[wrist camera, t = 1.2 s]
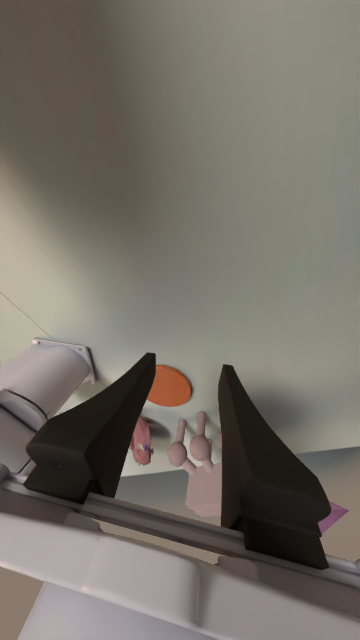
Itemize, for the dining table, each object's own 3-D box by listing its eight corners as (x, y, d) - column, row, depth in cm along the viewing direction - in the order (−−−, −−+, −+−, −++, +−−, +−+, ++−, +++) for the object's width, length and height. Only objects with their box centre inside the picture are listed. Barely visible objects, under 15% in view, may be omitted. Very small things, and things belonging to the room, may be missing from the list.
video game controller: (149, 432, 39) (155, 469, 33) (128, 437, 37) (130, 478, 32) (149, 404, 34) (156, 443, 28) (125, 410, 32) (126, 452, 27)
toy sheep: (278, 375, 23) (344, 529, 12) (312, 419, 26) (392, 577, 14) (171, 416, 32) (146, 528, 20) (205, 445, 35) (202, 558, 23)
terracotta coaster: (138, 398, 31) (137, 401, 30) (135, 360, 26) (133, 363, 26) (188, 407, 30) (188, 411, 29) (193, 370, 25) (193, 373, 25)
